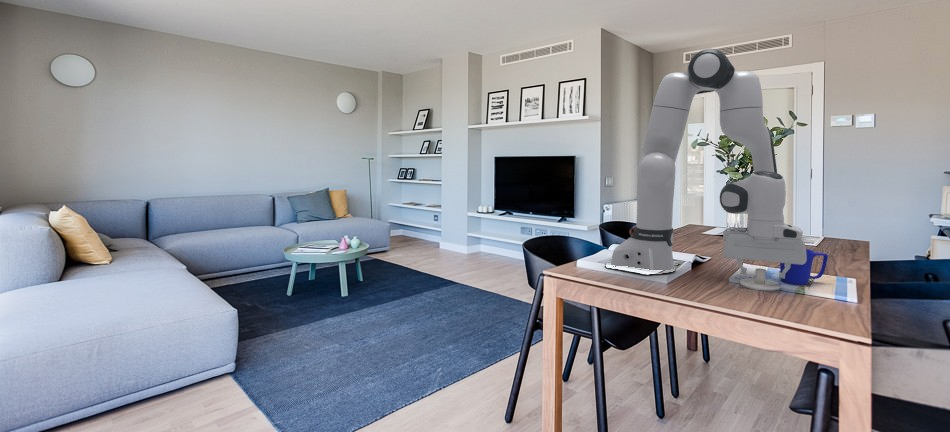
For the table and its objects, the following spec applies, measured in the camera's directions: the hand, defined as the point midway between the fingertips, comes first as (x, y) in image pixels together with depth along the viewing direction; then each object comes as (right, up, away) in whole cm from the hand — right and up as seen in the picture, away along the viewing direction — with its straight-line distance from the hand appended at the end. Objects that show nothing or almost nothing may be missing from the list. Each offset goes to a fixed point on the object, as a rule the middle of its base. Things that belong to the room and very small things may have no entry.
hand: (762, 276), depth 133 cm
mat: (-1, -3, 0) cm, 3 cm away
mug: (+13, -3, +3) cm, 14 cm away
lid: (-1, -3, 0) cm, 3 cm away
